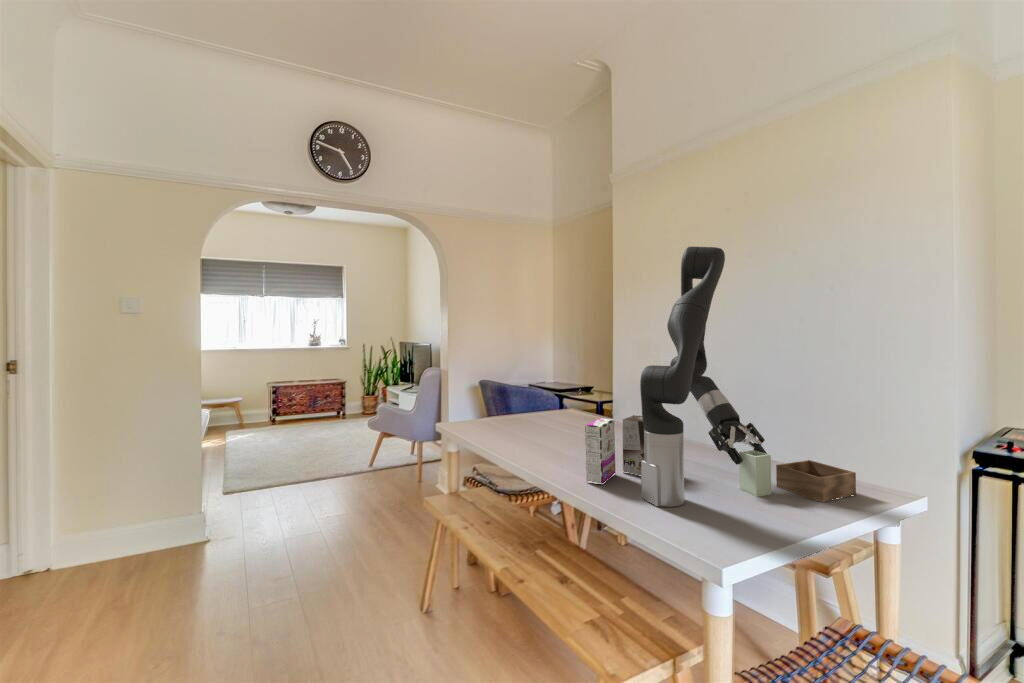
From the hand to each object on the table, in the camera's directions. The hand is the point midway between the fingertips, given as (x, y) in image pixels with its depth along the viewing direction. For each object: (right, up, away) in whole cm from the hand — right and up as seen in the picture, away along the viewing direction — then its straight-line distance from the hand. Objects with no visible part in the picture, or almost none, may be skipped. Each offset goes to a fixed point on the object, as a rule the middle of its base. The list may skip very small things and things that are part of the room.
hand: (752, 461), depth 113 cm
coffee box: (-24, -8, +18) cm, 32 cm away
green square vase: (0, -8, -1) cm, 8 cm away
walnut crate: (+16, -8, -1) cm, 17 cm away
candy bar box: (-37, -9, +12) cm, 40 cm away
